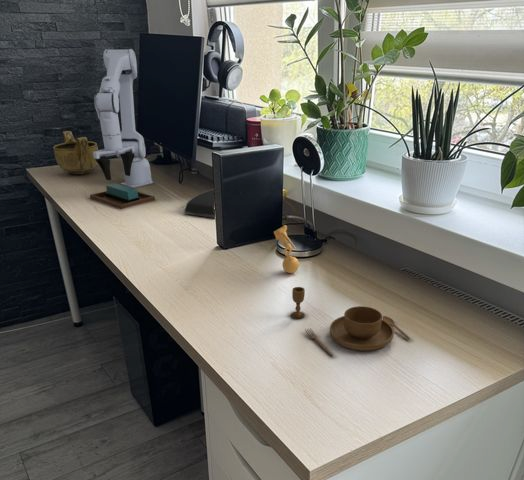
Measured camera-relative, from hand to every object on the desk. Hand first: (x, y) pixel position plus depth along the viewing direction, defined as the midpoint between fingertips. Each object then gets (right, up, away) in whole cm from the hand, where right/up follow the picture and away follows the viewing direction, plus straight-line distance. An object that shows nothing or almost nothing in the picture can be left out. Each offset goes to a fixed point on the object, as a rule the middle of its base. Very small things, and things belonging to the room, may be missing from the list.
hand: (118, 177), depth 174 cm
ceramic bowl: (-26, +14, +37) cm, 47 cm away
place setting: (+65, -54, -72) cm, 111 cm away
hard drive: (+33, -12, -5) cm, 36 cm away
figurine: (+54, -40, -50) cm, 84 cm away
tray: (0, -6, +4) cm, 8 cm away
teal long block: (0, -6, +4) cm, 7 cm away
